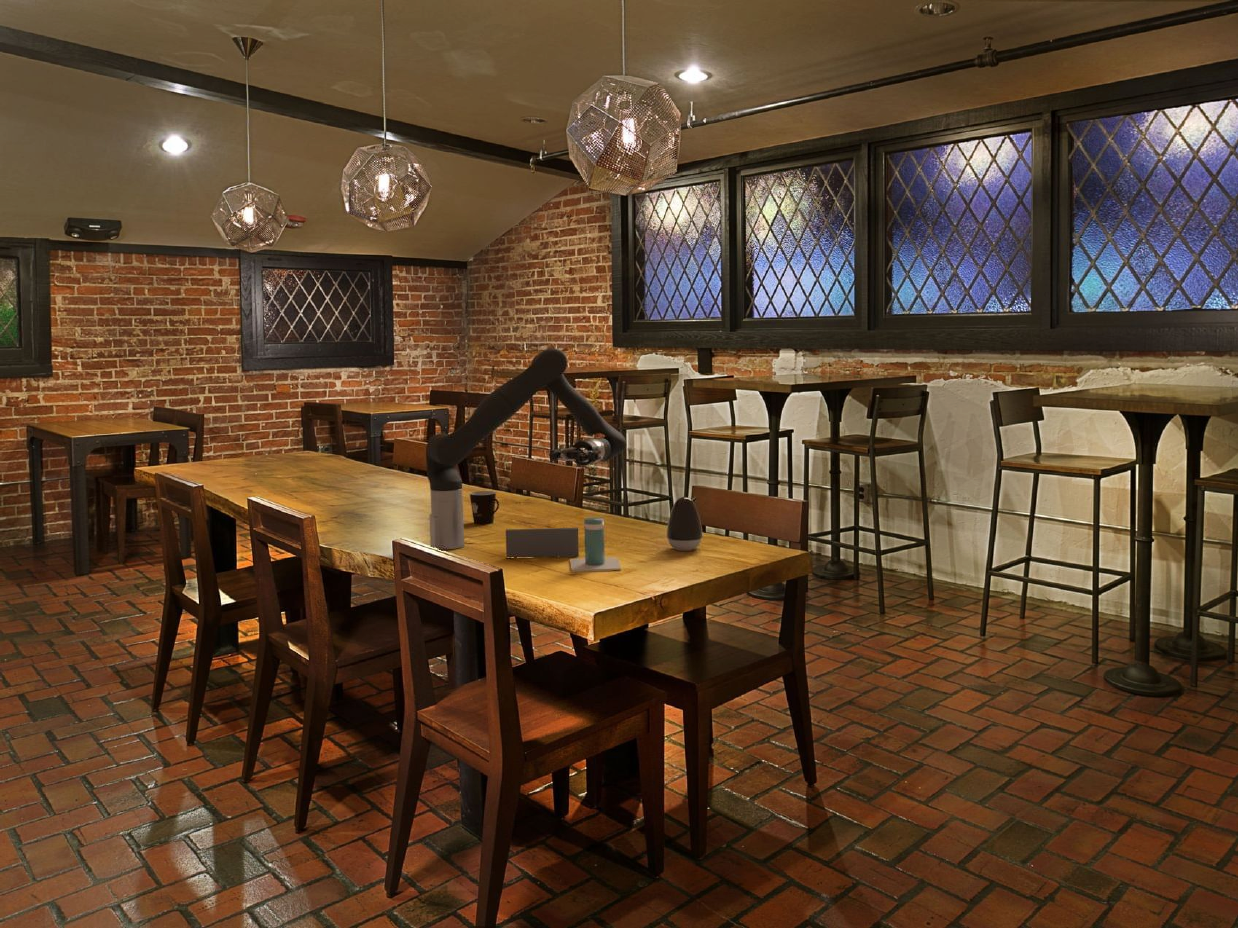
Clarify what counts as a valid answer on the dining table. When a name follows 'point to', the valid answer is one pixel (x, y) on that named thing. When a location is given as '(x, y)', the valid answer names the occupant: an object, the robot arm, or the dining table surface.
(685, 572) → the dining table surface
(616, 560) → the pad
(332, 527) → the dining table surface
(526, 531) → the screen
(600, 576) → the dining table surface
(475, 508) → the coffee mug
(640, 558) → the dining table surface
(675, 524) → the black egg-shaped body
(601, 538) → the canister
